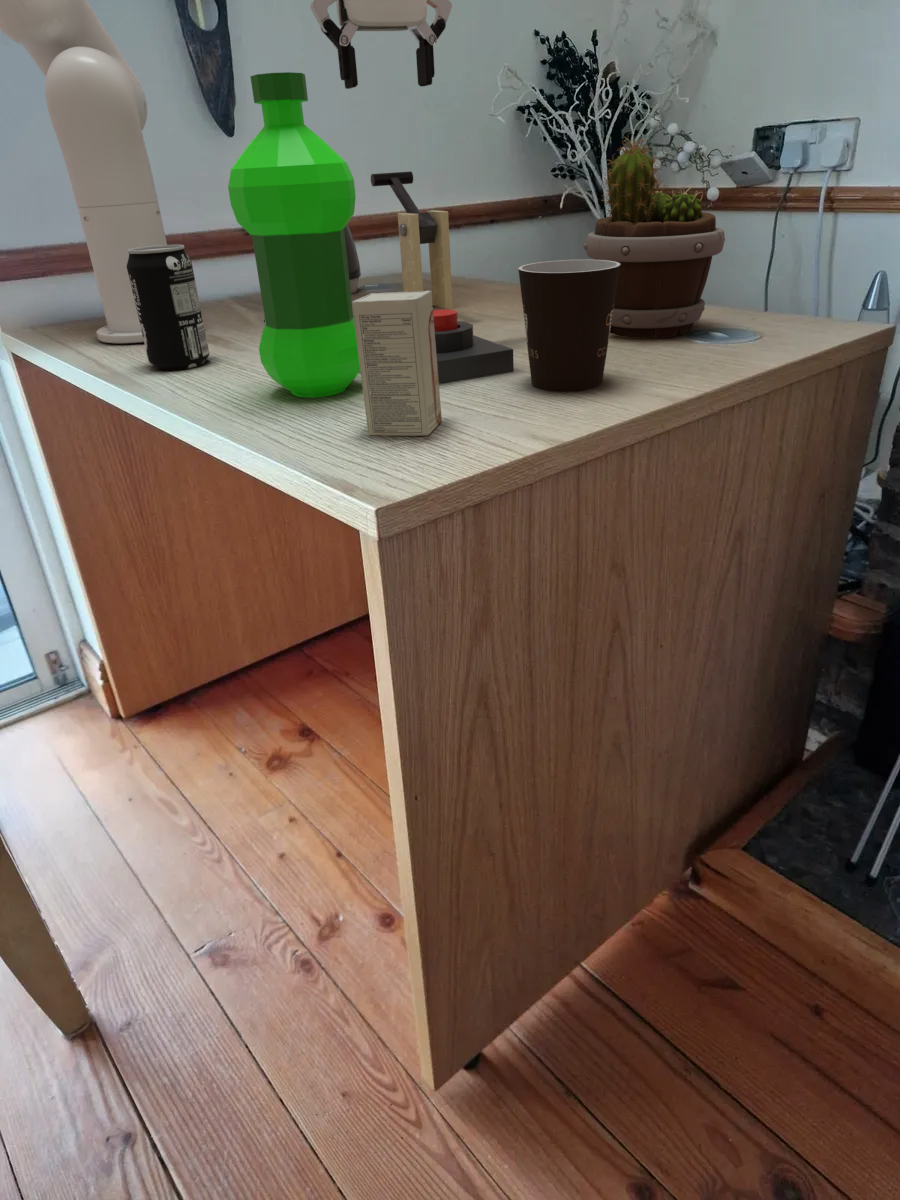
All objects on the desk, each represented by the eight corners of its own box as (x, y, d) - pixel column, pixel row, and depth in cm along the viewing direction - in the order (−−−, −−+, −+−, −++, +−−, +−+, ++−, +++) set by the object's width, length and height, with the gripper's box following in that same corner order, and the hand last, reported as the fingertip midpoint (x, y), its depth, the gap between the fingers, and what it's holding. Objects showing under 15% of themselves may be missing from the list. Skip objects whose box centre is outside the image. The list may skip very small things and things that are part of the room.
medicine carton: (443, 421, 64) (435, 289, 59) (428, 438, 61) (419, 299, 56) (382, 419, 66) (370, 290, 61) (364, 436, 62) (350, 300, 57)
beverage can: (147, 363, 90) (120, 248, 84) (206, 355, 92) (184, 242, 86) (153, 374, 85) (124, 252, 79) (215, 365, 87) (191, 246, 81)
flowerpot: (666, 313, 100) (681, 128, 90) (742, 334, 87) (769, 121, 77) (561, 326, 96) (564, 135, 86) (624, 350, 83) (636, 128, 73)
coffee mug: (591, 400, 67) (596, 273, 62) (502, 390, 72) (500, 271, 67) (640, 369, 76) (647, 255, 71) (558, 362, 80) (559, 255, 75)
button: (416, 330, 80) (414, 312, 79) (448, 326, 81) (447, 308, 80) (430, 336, 77) (429, 317, 76) (464, 331, 78) (463, 312, 77)
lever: (369, 186, 105) (371, 168, 103) (408, 183, 107) (410, 165, 105) (406, 245, 99) (408, 227, 97) (446, 241, 101) (449, 224, 99)
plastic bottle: (385, 396, 72) (354, 66, 60) (268, 411, 70) (211, 70, 57) (363, 372, 80) (333, 79, 68) (258, 385, 78) (207, 83, 66)
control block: (375, 364, 84) (371, 324, 82) (460, 350, 87) (458, 312, 85) (419, 388, 74) (416, 343, 72) (513, 372, 77) (513, 329, 76)
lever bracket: (387, 318, 107) (378, 213, 101) (441, 311, 110) (435, 208, 104) (416, 329, 99) (408, 216, 93) (473, 321, 102) (469, 211, 96)
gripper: (433, -82, 95) (441, 87, 104) (292, -88, 90) (312, 91, 98) (458, -100, 89) (465, 81, 97) (308, -108, 83) (329, 85, 92)
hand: (388, 86), depth 98 cm, fingers open, 9 cm apart
